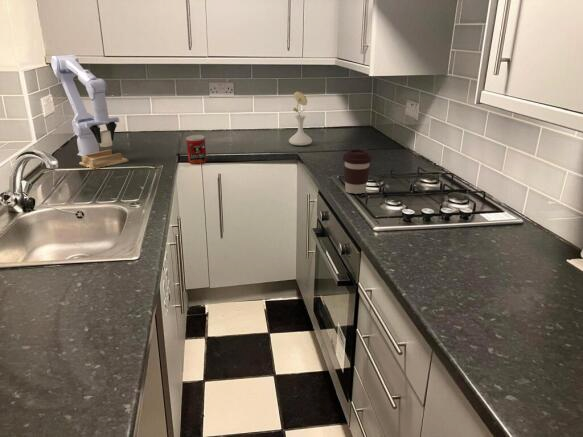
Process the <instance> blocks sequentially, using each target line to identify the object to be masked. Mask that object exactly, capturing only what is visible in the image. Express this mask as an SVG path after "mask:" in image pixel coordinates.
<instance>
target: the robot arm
mask: <svg viewBox="0 0 583 437" xmlns="http://www.w3.org/2000/svg"><path fill="white" fill-rule="evenodd" d="M79 61H80V60H79V58H78V56H77V55H75V54H69V55H68V54H66V55H52V56H51V58H50V66H51V68H52V71H53V73H54V75H55V77H56V78H57V79H58V80H60V82H61V86H62V87H63V89H64V92H65V95H66V96H67V98H68V101H69V103H70V106H71V109H72V111H73V113H74V115H75V116H74V117H73V119H72V121H71V125H72V129H73V130H72V131H73V134H75V136H76V137H77V139H76V144H77V148H78V153H77V156H79V157H81V156H82V155H87V154H91V153H96V152H100V145H99V144H100V143H101V137H100V131H101V127H100V126H103V125H105V127H106V129H107V130H109V131H110V133H111V139H112V142H113V141H114V136H115V133H116V132H115V131H116V128H117V126H118V125H117V123H120V117H118V116H116V117H114V116H113V117H110V116H109V111H108V110H109V109H108V105H107V99H106V93H107V92H108V86H107V83H106V81H105V80H104V79H103V78H98V77H96V76H95V74H93V73H92V72H91V71H90V70H89V69H84V68H83V66H82V65H81V64H80V62H79ZM75 77H77V79H78V81H79V82H80V83H81V84H82V85H83V86H84V87H85V89H86V92H87V94H88V97H89V100H90V101H91V108H92V114H91V113H89V112H87V109H86V107H85V104H84V101H83V100H82V97H81V95H80V92H79V91H78V88H77V85H76V83H75V81H74V78H75Z"/></svg>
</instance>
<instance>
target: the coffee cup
mask: <svg viewBox="0 0 583 437" xmlns="http://www.w3.org/2000/svg"><path fill="white" fill-rule="evenodd" d="M342 160H343V162H344V165H343V169H344V170H343V172H344V173H343V174H344V175H343V176H344V184H345V185H344V186H345V188H344V190H345V193H346V192H348V193H364V194H365V193H366V191H367V184H368V180H369V176H370V175H369V174H370V163H371V162H372V160H373V157H372V154H369V153H368V151H367V150H365V149H360V148H359V149H358V148H354V149H349V150H348V151H347V153H344V154H343V155H342ZM348 193H347V194H348Z"/></svg>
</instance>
